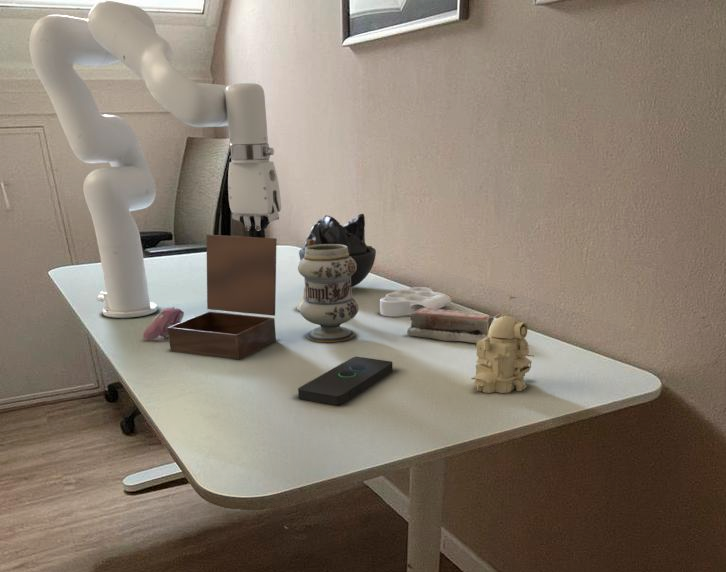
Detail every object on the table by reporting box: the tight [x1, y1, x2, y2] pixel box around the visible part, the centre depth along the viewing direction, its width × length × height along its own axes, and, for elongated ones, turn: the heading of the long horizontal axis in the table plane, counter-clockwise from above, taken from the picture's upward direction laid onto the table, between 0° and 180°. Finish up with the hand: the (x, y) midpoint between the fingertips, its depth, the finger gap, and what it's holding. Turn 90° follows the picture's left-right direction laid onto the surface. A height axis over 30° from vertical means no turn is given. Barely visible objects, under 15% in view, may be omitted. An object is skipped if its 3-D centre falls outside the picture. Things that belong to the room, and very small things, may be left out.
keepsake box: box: [167, 310, 277, 360], centre depth 143 cm, size 14×16×5 cm
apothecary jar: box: [297, 244, 360, 343], centre depth 145 cm, size 12×12×18 cm
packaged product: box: [406, 307, 495, 344], centre depth 147 cm, size 18×5×10 cm
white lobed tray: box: [379, 286, 452, 318], centre depth 168 cm, size 3×18×15 cm
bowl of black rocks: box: [298, 213, 377, 288], centre depth 185 cm, size 20×20×19 cm
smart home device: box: [297, 356, 394, 406], centre depth 122 cm, size 8×2×20 cm
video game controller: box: [142, 306, 185, 342], centre depth 150 cm, size 10×5×7 cm, turn 168°
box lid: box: [205, 234, 278, 317], centre depth 145 cm, size 15×16×1 cm
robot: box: [470, 294, 535, 394], centre depth 116 cm, size 10×8×15 cm
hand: (258, 249), depth 151 cm, fingers closed
